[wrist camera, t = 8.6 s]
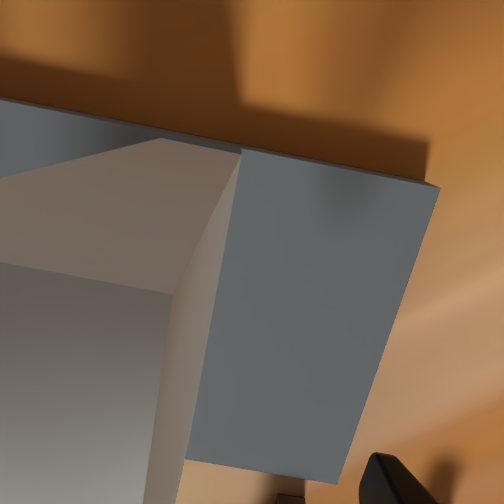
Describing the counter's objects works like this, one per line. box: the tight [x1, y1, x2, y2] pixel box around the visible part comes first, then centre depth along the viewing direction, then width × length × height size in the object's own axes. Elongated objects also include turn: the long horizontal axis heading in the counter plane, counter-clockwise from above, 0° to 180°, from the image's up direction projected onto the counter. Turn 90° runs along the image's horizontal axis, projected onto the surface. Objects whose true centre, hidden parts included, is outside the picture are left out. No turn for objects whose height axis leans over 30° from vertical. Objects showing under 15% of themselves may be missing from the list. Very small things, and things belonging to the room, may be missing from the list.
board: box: [0, 138, 242, 504], centre depth 7 cm, size 2×9×8 cm, turn 169°
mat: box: [0, 96, 441, 484], centre depth 12 cm, size 12×10×1 cm
